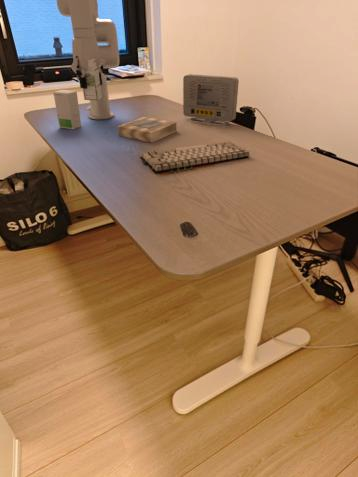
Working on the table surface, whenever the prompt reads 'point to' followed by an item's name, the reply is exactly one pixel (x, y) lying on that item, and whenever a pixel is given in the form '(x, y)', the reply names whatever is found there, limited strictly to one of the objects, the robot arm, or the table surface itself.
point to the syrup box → (92, 81)
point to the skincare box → (67, 109)
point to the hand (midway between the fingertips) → (91, 86)
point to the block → (188, 229)
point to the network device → (210, 98)
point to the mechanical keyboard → (192, 157)
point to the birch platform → (147, 129)
